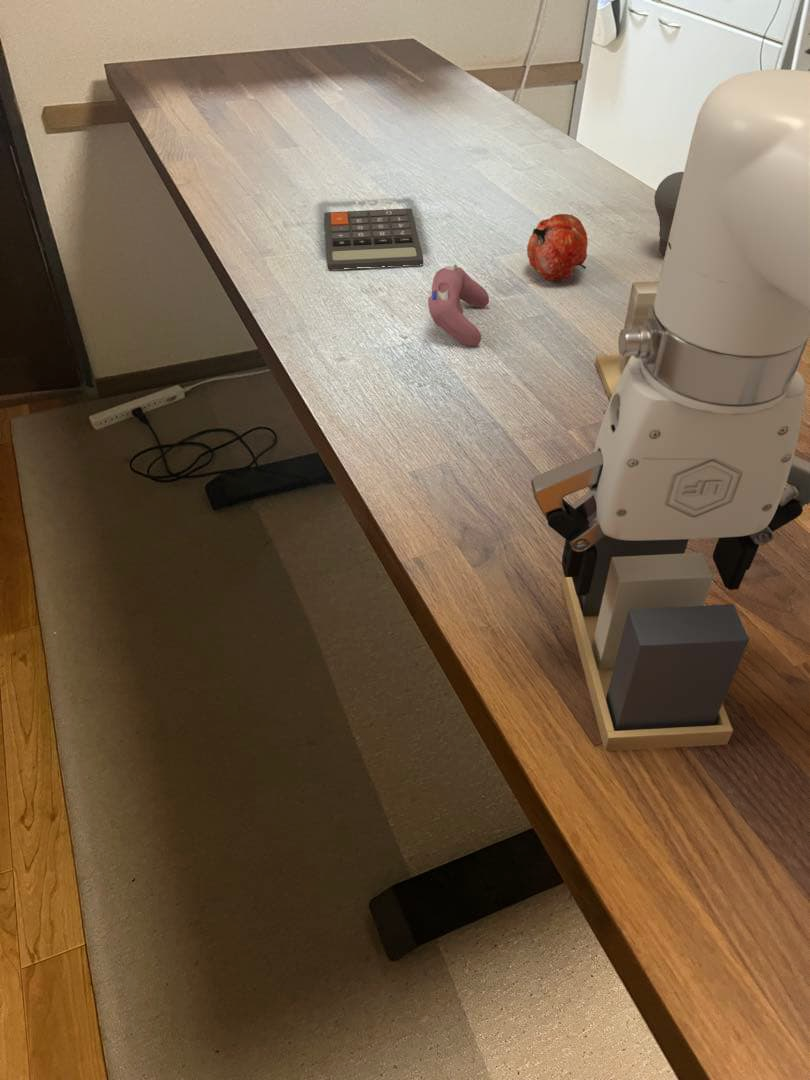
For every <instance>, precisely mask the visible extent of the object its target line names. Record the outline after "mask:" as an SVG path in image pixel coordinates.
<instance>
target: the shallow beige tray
mask: <svg viewBox="0 0 810 1080" xmlns="http://www.w3.org/2000/svg"><path fill="white" fill-rule="evenodd" d="M560 579H561V580H560V583H561V587H562V591H563V595H564V599H565V602H566V606H567V610H568V614H569V618H570V622H571V625H572V626H571V627H572V631H573V633H574V638H575V642H576V645H577V648H578V653H579V657H580V660H581V664H582V669H583V672H584V677H585V681H586V684H587V688H588V692H589V695H590V699H591V704H592V707H593V712H594V715H595V718H596V722H597V726H598V730H599V734H600V739H601V742H602V745H603V750H604V751H606V752H615V751H616V752H618V751H633V750H634V751H635V750H636V751H637V750H652V749H653V750H654V749H671V748H686V747H687V748H688V747H703V746H705V747H707V746H724V745H725V746H726V745H728V743H729V742H730V739H731V736H732V734H733V732H734V729H733V727H732V725H731V721H730V719H729V716H728V714H727V711H726V709H725V706H724V703H723V704H722V706H721V708H720V711H719V713H718V716H717V718H716V720H715V723H714V725H713V726H696V727H678V728H661V729H643V730H625V731H614V728H613V724H612V720H611V717H610V713H609V709H608V706H607V702H606V696H607V692H608V689H609V685H610V681H611V677H612V673H613V669H604V670H599V669H598V665H597V662H596V658H595V654H594V651H593V647H592V644H593V640H594V635H595V631H596V626H597V622H598V617H599V616H584V617H583V614H582V611H581V607H580V603H579V600H578V596H577V595H576V591H575V587H574V583H573V580H572V577H565V575H564V572H563V571H562V574H561V578H560Z"/></svg>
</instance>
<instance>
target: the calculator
mask: <svg viewBox="0 0 810 1080" xmlns="http://www.w3.org/2000/svg"><path fill="white" fill-rule="evenodd" d="M323 219H324V235H325V252H326V253H325V254H326V264H327V265H326V268H328V269H329V270H328V269H327V270H328V271H333V270H332V269H344V268H357V267H382V266H385V267H384V268H389V267H388V266H403V265H420V264H423V265H424V255H423V250H422V247H421V242H420V239H419V233H418V230H417V225H416V221H415V217H414V213H413V209H412V208H389V209H370V210H369V209H368V210H367V209H365V210H346V211H326V212H324V214H323Z"/></svg>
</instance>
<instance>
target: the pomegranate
mask: <svg viewBox="0 0 810 1080" xmlns="http://www.w3.org/2000/svg"><path fill="white" fill-rule="evenodd" d="M588 243H589V241H588V234H587V231H586V229H585V227H584V224H583V223H582V221H581V220H580V218H578V217H576V216H574V215H573V214H568V213H559V214H554V215H552V216H551V217H550V218H546V219H542V220H540V221H539V222H538V224H537V226H536V227H535V228H533V230H532V233H531V235H530V236H529V239H528V243H527V246H526V254H527V258H528V261H529V264H530V266H531V267H532V268H533V270H535V271H537V272H539V275H540V276H541V277H543V279H545V280H547V281H549V282H559V283H561V282H563V281H565V280H567V279H570V278H571V277H572V276H573V275H574V273H575V271H574V268H575V267H579V266H580V267H581V268H583V269H585V270H586V269H587V266H585V265H584V263H585V261H586V259H587V257H588V254H587V253H588V251H587V250H588Z"/></svg>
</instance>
